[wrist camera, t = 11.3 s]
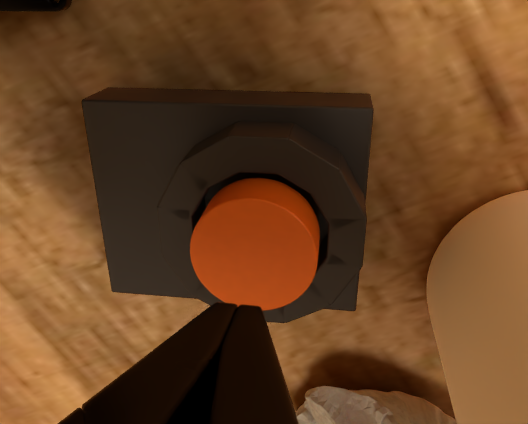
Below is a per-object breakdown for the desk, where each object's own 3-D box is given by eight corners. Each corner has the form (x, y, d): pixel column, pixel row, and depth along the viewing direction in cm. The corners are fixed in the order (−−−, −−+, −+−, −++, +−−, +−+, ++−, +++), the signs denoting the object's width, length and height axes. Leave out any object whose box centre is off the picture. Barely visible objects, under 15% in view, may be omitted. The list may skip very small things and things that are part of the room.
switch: (206, 277, 18) (193, 306, 17) (199, 174, 16) (184, 195, 15) (317, 286, 18) (315, 316, 16) (322, 180, 16) (320, 202, 14)
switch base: (131, 265, 23) (91, 319, 19) (106, 87, 19) (53, 112, 16) (354, 281, 22) (357, 342, 18) (370, 93, 18) (377, 122, 15)
